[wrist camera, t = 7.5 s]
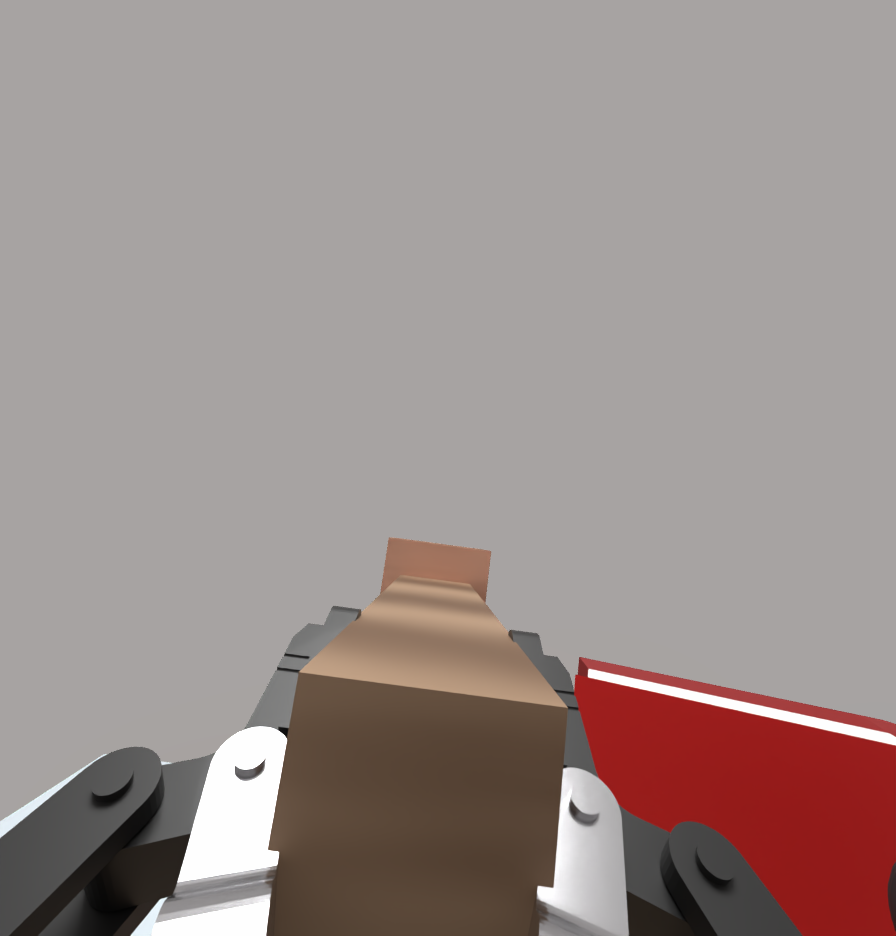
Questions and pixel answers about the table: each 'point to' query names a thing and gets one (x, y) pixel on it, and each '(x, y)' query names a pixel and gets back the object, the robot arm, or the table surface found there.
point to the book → (756, 785)
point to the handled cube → (419, 766)
